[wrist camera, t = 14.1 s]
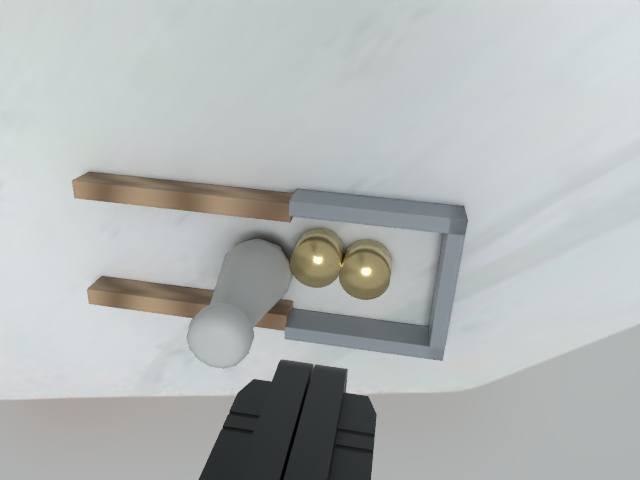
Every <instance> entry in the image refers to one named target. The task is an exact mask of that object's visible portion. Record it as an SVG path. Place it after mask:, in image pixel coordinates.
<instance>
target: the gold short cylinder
mask: <svg viewBox="0 0 640 480" xmlns="http://www.w3.org/2000/svg"><path fill="white" fill-rule="evenodd" d="M343 257H344V245H343V243H342V241H341V239H340V238H339V236H338V235H337V234H335V233H334V232H332V231H331V230H328V229H325V228H314V229H311V230H308V231H307V232H305V233H304V234H303V235H302V236H301V237H300V239H299V241H298V243H297V245H296V247H295V249H294V251H293V253H292V256H291V259H290V267H291V270H292V273H293V275H294V276H295V277H296V279H297V280H298V281H300V282H301V283H302V284H304V285H306V286H309V287H314V288H319V287H325V286H327V285H329V284H331V283H332V282H333V281H335V279H336V278H337V276H338V274H339V271H340V268H341V264H342V261H343Z"/></svg>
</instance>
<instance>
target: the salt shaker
mask: <svg viewBox="0 0 640 480" xmlns="http://www.w3.org/2000/svg"><path fill="white" fill-rule="evenodd" d="M291 279H292V273H291V268H290V262H289V261H288V259H287V258H286V256H285V255H284V254H283V252H282V249H281V247H280V246H279V245H277V244H274V243H271V242H268V241H265V240H262V239H251V240H248V241H245V242H242V243H239V244H237V245H236V246H235V247H234V248H233V249H232V250H231V251H230V252H229V253H228V254H227V255H226V256H225V259H224V262H223V265H222V268H221V271H220V274H219V278H218V281H217V284H216V287H215V290H214V293H213V296H212V300H211V303H210V305H208V306H206V307H204V308H203V309H202V310H201V311H200V312H199V313H198V314H196V315H195V317H194V318H193V319H192V320H191V323H190V326H189V330H188V334H187V341H188V344H189V348H190V350H191V351H192V352H193V354H194V355H195V356H196V357H197V358H198V359H199V360H200V361H202V362H204V363H205V364H207V365H209V366H211V367H217V368H228V367H232V366H236V365H237V364H238V363H239V362H240V361H241V360H243V359H244V358H245V356H246V355H247V354H248V353H249V350H250V347H251V344H252V341H253V338H254V331H253V328H254V327H255V325H256V324H257V323H258V322H259V321H260V320H261V319H262V318H263V316H264V315H265V314H266V313H267V312H268V311H269V310H270V309H271V308H272V307H273V306H274V305H275V304H276V303H277V302H278V301H279V300H280V299H281V298H282V297H283V296H284V295H285V294H286V293H287V291H288V288H289V285H290V282H291Z"/></svg>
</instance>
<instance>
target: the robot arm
mask: <svg viewBox="0 0 640 480" xmlns="http://www.w3.org/2000/svg"><path fill="white" fill-rule="evenodd" d="M346 383H347V369H343V368H336V367H329V366H322V365H315V366H314V367H313V364H309V363H302V362H295V361H288V360H280V362H279V364H278V367H277V370H276V372H275V375H274V378H273V380H272V382H270V381H263V380H256V379H253V380H252V381H251V382H250V383H249V384H248V385H247V386H245V387H244V388H243V389H242V390H241V391H240V392H239V393H238V394H237V396H236V398H235V400H234V403H233V405H232V407H231V409H230V413H229V415H228V416H227V418H226V421H225V423H224V425H223V429H222V430H221V432H220V434H219V436H218V438H217V440H216V443H215V445H214V447H213V449H212V451H211V454H210V456H209V458H208V460H207V463H206V465H205V467H204V469H203V471H202V474H201V476H200V478H199V480H371V471H372V460H373V448H374V436H375V426H376V412H375V410H374V408H373V406H372V404H371V401H370V399H369V397H368V396H363V395H356V394H349V393H346Z"/></svg>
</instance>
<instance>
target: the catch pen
mask: <svg viewBox="0 0 640 480" xmlns="http://www.w3.org/2000/svg"><path fill="white" fill-rule="evenodd" d="M289 216H293V217H302V218H311V219H320V220H330V221H339V222H348V223H357V224H366V225H375V226H384V227H393V228H402V229H411V230H420V231H429V232H438V233H444V235H443V241H442V247H441V253H440V260H439V266H438V272H437V278H436V284H435V290H434V296H433V303H432V309H431V315H430V321H429V327H428V326H420V325H412V324H405V323H397V322H390V321H382V320H374V319H367V318H359V317H352V316H344V315H336V314H329V313H321V312H314V311H306V310H298V309H292V311H291V314H290V316H289V319H288V321H287V324H286V326H285V339H289V340H296V341H304V342H311V343H318V344H325V345H332V346H340V347H347V348H354V349H361V350H368V351H376V352H383V353H390V354H397V355H404V356H412V357H419V358H426V359H433V360H440V361H442V360H443V355H444V349H445V344H446V338H447V332H448V327H449V321H450V316H451V310H452V305H453V299H454V294H455V288H456V283H457V277H458V272H459V266H460V261H461V255H462V250H463V244H464V239H465V233H466V227H467V222H468V219H467V215H466V212H465V208H464V206H455V205H446V204H436V203H427V202H417V201H408V200H398V199H388V198H379V197H369V196H360V195H350V194H340V193H331V192H321V191H312V190H302V189H297V190H296V192H295V193H294V195H293V196H292V198H291V200H290V201H289Z"/></svg>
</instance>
